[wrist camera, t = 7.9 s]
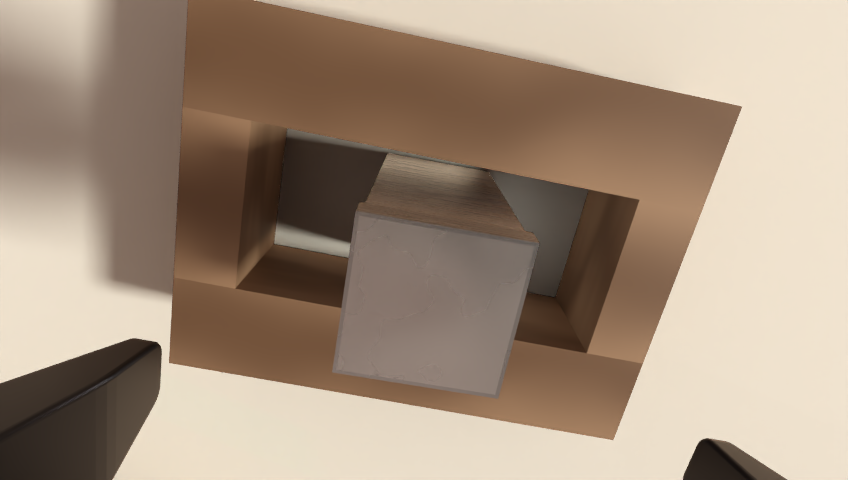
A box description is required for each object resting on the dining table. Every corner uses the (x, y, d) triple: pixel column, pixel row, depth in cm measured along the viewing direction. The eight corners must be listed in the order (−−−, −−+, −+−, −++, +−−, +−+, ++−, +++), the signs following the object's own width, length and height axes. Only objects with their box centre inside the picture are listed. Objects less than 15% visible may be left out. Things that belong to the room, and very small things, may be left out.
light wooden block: (469, 267, 21) (497, 398, 13) (369, 250, 21) (332, 372, 13) (491, 169, 20) (539, 243, 12) (385, 149, 20) (355, 210, 11)
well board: (578, 370, 23) (613, 439, 19) (218, 305, 22) (169, 362, 18) (671, 98, 19) (741, 106, 15) (244, 5, 18) (188, -14, 14)
